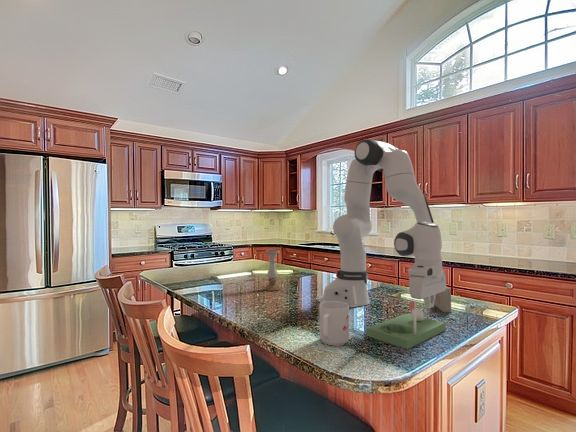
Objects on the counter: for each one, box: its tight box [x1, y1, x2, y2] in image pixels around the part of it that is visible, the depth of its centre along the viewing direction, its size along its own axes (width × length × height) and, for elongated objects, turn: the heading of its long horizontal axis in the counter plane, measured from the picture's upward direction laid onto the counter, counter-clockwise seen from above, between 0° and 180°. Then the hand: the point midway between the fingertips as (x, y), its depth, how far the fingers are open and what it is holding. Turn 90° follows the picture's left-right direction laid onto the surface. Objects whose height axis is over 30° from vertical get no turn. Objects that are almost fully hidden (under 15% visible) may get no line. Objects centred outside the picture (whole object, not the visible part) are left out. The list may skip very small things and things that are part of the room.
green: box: [366, 300, 446, 350], centre depth 107 cm, size 24×14×12 cm, turn 130°
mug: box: [318, 301, 350, 347], centre depth 98 cm, size 12×9×11 cm
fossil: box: [434, 286, 452, 313], centre depth 136 cm, size 12×4×10 cm, turn 173°
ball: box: [411, 308, 425, 321], centre depth 111 cm, size 4×4×4 cm
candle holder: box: [263, 249, 282, 292], centre depth 172 cm, size 9×9×20 cm
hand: (429, 307), depth 115 cm, fingers closed
